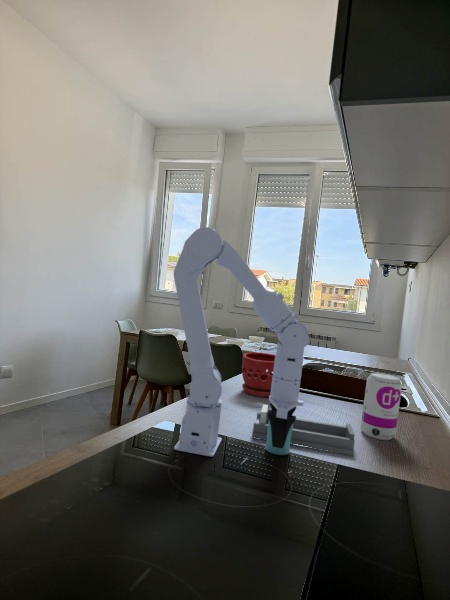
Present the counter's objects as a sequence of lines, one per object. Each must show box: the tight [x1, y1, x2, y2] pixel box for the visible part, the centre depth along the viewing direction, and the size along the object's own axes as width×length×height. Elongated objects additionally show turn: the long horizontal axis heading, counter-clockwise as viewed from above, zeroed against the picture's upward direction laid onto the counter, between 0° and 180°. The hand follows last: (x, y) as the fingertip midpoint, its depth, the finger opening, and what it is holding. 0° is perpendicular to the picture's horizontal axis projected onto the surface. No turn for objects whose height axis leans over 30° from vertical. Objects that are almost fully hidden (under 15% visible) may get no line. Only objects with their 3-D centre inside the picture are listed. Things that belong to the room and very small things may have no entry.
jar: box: [264, 421, 293, 456], centre depth 87 cm, size 5×5×7 cm
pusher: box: [260, 404, 269, 424], centre depth 98 cm, size 6×5×4 cm
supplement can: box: [360, 372, 403, 441], centre depth 106 cm, size 8×8×15 cm
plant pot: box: [241, 351, 276, 398], centre depth 133 cm, size 13×13×12 cm
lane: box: [251, 411, 355, 457], centre depth 97 cm, size 11×22×4 cm, turn 80°
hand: (278, 442), depth 87 cm, fingers closed on jar, 5 cm apart
